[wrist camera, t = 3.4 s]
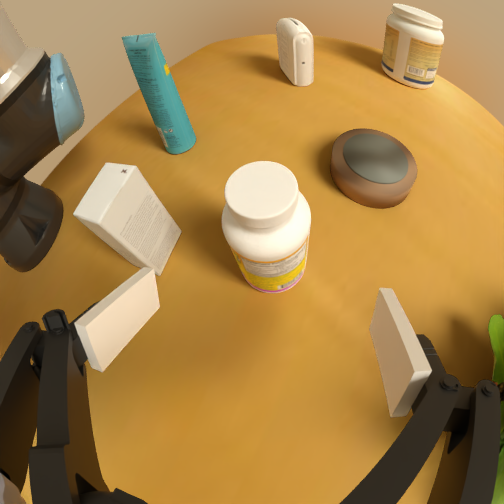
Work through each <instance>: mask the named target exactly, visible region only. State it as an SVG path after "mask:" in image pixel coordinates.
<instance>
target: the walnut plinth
mask: <svg viewBox="0 0 504 504" xmlns="http://www.w3.org/2000/svg"><path fill="white" fill-rule="evenodd" d="M330 171H331V176H332V179H333V181H334V183H335V184H336V186H337V187H338V188H339V189H340V191H341V192H342V193H344V194H345V195H346V196H347V197H349V198H350V199H351V200H353V201H355V202H357V203H359V204H361V205H364V206H367V207H372V208H390V207H394V206H396V205H398V204H400V203H401V202H402V201H404V200H405V198H406V197H407V195H408V193H409V191H410V190H411V188H412V186H413V184H414V182H415V180H416V177H417V165H416V162H415V160H414V157H413V156H412V154H411V153H410V151H409V150H408V149H407V148H406V147H405V146H404V145H403V144H402V143H401V142H400V141H398V140H397V139H395V138H394V137H392V136H390V135H388V134H386V133H383V132H380V131H377V130H372V129H353V130H350V131H347V132H345V133H343V134H341V135H340V136H339V137H338V138H337V139H336V141H335V142H334V145H333V150H332V158H331V165H330Z"/></svg>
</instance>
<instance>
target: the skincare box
mask: <svg viewBox="0 0 504 504" xmlns="http://www.w3.org/2000/svg"><path fill="white" fill-rule="evenodd" d="M73 215H74V216H75V217H76V218H77V219H78V220H80V221H81V222H82V223H83V224H84V225H85V226H87V227H88V228H89V229H90V230H91V231H92V232H94V233H95V234H96V235H97V236H98V237H99V238H101V239H102V240H103V241H104V242H106V243H107V244H108V245H109V246H110V247H112V248H113V249H114V250H115V251H117V252H118V253H119V254H120V255H122V256H123V257H124V258H125V259H127V260H128V261H129V262H130V263H132V264H133V265H134V266H137V267H139V268H143V267H147V268H154V271H155V274H156V275H159V276H160V275H161V273H162V271H163V269H164V267H165V265H166V263H167V261H168V258H169V256H170V254H171V252H172V250H173V248H174V246H175V244H176V242H177V240H178V238H179V236H180V234H181V232H182V231H181V230H180V228H179V227H178V225H177V224H176V223H175V221H174V220H173V218H172V217H171V216H170V214H169V213H168V211H167V210H166V209H165V207H164V206H163V204H162V203H161V201H160V200H159V199H158V197H157V196H156V194H155V193H154V191H153V190H152V189H151V187H150V186H149V184H148V183H147V181H146V180H145V178H144V177H143V175H142V174H141V172H140V171H139V169H138V168H137V166H133V165H124V164H115V163H106V164H105V165H104V166H103V168H102V169H101V171H100V172H99V174H98V175H97V177H96V178H95V180H94V181H93V183H92V184H91V186H90V187H89V189H88V190H87V192H86V194H85V195H84V197H83V198H82V200H81V202H80V203H79V205H78V207H77V208H76V210H75V212H74V213H73Z"/></svg>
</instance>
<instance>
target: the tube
mask: <svg viewBox="0 0 504 504" xmlns="http://www.w3.org/2000/svg"><path fill="white" fill-rule="evenodd" d="M155 36H156V33H150V34H143V35H133V36H125V37H122V40H123V43H124V46H125V49H126V53H127V55H128V58H129V61H130V64H131V66H132V69H133V72H134V74H135V77H136V79H137V82H138V85H139V87H140V89H141V92H142V94H143V97H144V99H145V102H146V104H147V106H148V109H149V111H150V114H151V116H152V118H153V121H154V123H155V125H156V128H157V130H158V132H159V134H160V137H161V139H162V141H163V144H164V146H165V148H166V150H167V151H168V152H169V153H171V154H180V153H183V152H185V151H187V150H189V149H190V148H192V147H193V145H194V144H195V142H196V136H195V134H194V131H193V128H192V126H191V123H190V121H189V119H188V116H187V114H186V111H185V109H184V106H183V104H182V101H181V99H180V96H179V94H178V91H177V88H176V86H175V83H174V81H173V78H172V76H171V73H170V71H169V68H168V66H167V63H166V61H165V59H164V56H163V54H162V51H161V49H160V46H159V44H158V42H157V39H156V37H155Z"/></svg>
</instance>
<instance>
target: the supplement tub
mask: <svg viewBox="0 0 504 504" xmlns="http://www.w3.org/2000/svg"><path fill="white" fill-rule="evenodd" d="M392 12H393V14H391V15H389V16H388V17H387V23H386V32H385V41H384V49H383V56H382V62H381V63H382V68H383V70H384V72H385V73H386V74H387V75H389V76H390V77H391V78H393V79H395V80H396V81H398V82H400V83H402V84H405V85H407V86H410V87H414V88H419V89H427V88H430V87H431V86H432V85H433V83H434V79H435V75H436V71H437V67H438V64H439V59H440V55H441V51H442V47H443V42H444V36H443V34H442V32H441V31H440V30H441V29H442V28H443V27H442V23H443V22H442V20H441V19H439V18H438V17H436V16H434V15H432V14H430V13H427V12H425V11H423V10H420V9H417V8H414V7H411V6H407V5H402V4H393V8H392Z"/></svg>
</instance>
